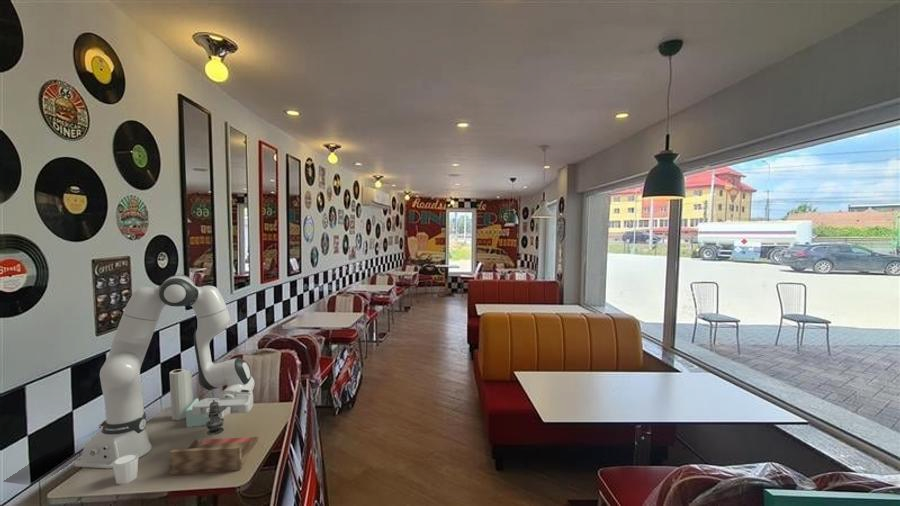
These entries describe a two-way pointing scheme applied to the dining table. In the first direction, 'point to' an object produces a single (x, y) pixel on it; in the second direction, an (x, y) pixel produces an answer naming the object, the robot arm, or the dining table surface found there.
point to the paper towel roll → (180, 392)
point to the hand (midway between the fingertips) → (213, 415)
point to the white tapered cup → (125, 468)
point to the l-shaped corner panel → (195, 417)
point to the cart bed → (212, 455)
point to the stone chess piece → (214, 420)
